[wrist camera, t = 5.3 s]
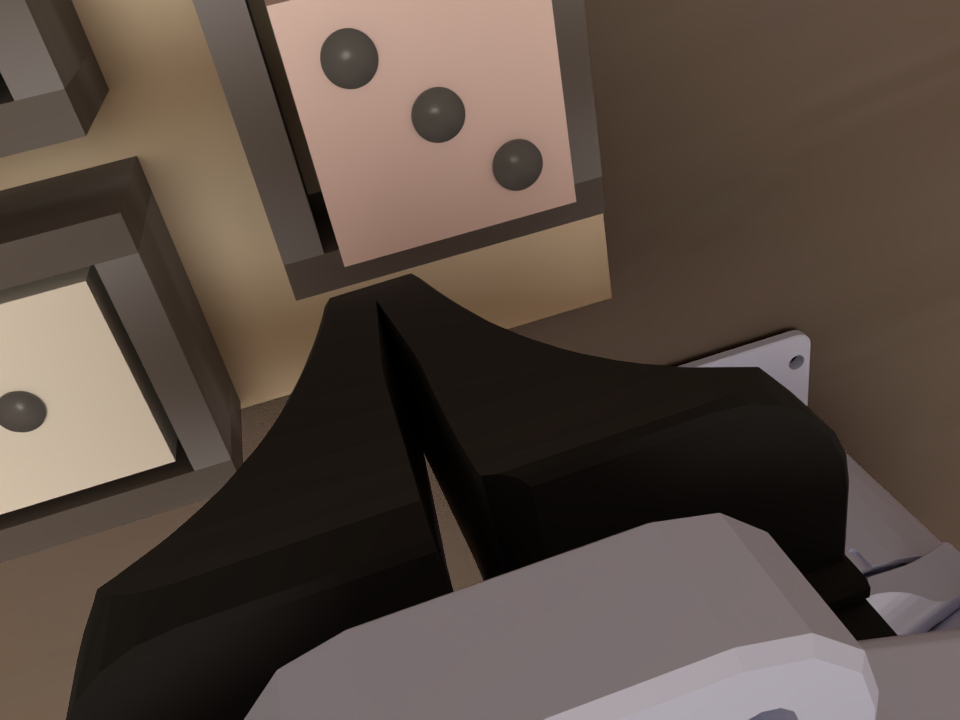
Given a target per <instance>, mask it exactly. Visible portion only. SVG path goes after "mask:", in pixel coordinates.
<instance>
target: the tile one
mask: <svg viewBox="0 0 960 720" xmlns="http://www.w3.org/2000/svg"><path fill="white" fill-rule="evenodd" d="M176 448H177V434H176V432H175V430H174V428H173V426H172V424H171V422H170V420H169V418H168V416H167V413H166V411H165V409H164V407H163V405H162V403H161V401H160V399H159V397H158V395H157V393H156V391H155V389H154V387H153V385H152V383H151V381H150V378H149V376H148V374H147V372H146V370H145V368H144V366H143V364H142V362H141V360H140V358H139V356H138V354H137V352H136V350H135V348H134V346H133V344H132V341H131V339H130V337H129V335H128V333H127V331H126V329H125V327H124V325H123V323H122V321H121V319H120V317H119V315H118V313H117V311H116V309H115V307H114V304H113V302H112V300H111V298H110V296H109V294H108V292H107V290H106V288H105V286H104V284H103V282H102V280H101V278H100V276H99V274H98V272H97V269H96V267H95V265H92V266H88V267H84V268H81V269H77V270H73V271H70V272H66V273H62V274H59V275H55V276H51V277H47V278H44V279H40V280H36V281H33V282H29V283H25V284H22V285H18V286H14V287H11V288H7V289H3V290H0V515H1V514H4V513H7V512H11V511H14V510H17V509H21V508H24V507H27V506H30V505H34V504H37V503H40V502H44V501H47V500H50V499H53V498H57V497H60V496H63V495H67V494H70V493H73V492H76V491H80V490H83V489H86V488H90V487H93V486H96V485H99V484H103V483H106V482H109V481H113V480H116V479H119V478H122V477H126V476H129V475H132V474H136V473H139V472H142V471H145V470H149V469H152V468H155V467H159V466H162V465H165V464H168V463H172V462H175V461H176Z"/></svg>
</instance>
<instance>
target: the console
mask: <svg viewBox="0 0 960 720" xmlns="http://www.w3.org/2000/svg"><path fill="white" fill-rule="evenodd" d="M552 7H553V16H554V24H555V32H556V40H557V48H558V56H559V65H560V73H561V81H562V89H563V97H564V105H565V113H566V122H567V130H568V138H569V146H570V154H571V162H572V171H573V179H574V187H575V195H576V202H574V203H570V204H567V205H563V206H560V207H556V208H553V209H549V210H545V211H542V212H538V213H535V214H531V215H528V216H524V217H521V218H517V219H514V220H510V221H506V222H503V223H499V224H496V225H492V226H489V227H485V228H482V229H478V230H475V231H471V232H467V233H464V234H460V235H457V236H453V237H450V238H446V239H443V240H439V241H435V242H432V243H428V244H425V245H421V246H418V247H414V248H411V249H407V250H404V251H400V252H396V253H393V254H389V255H386V256H382V257H379V258H375V259H372V260H368V261H365V262H361V263H357V264H354V265H350V266H347V267H344V263H343V260H342V257H341V254H340V250H339V247H338V244H337V241H336V238H335V234H334V231H333V228H332V225H331V221H330V218H329V215H328V212H327V208H326V205H325V202H324V199H323V195H322V192H321V189H320V185H319V182H318V179H317V175H316V172H315V169H314V165H313V162H312V159H311V155H310V152H309V149H308V145H307V142H306V139H305V135H304V132H303V129H302V125H301V122H300V119H299V116H298V112H297V109H296V106H295V102H294V99H293V96H292V92H291V89H290V86H289V82H288V79H287V76H286V72H285V69H284V66H283V62H282V59H281V56H280V52H279V49H278V46H277V42H276V39H275V36H274V33H273V29H272V26H271V23H270V19H269V16H268V13H267V9H266V6H265V3H264V0H0V72H1V74H0V290H3V289H7V288H11V287H14V286H18V285H22V284H25V283H29V282H33V281H36V280H40V279H44V278H47V277H51V276H55V275H59V274H62V273H66V272H70V271H73V270H77V269H81V268H84V267H88V266H92V265H95V267H96V269H97V272H98V274H99V276H100V278H101V280H102V282H103V284H104V286H105V288H106V290H107V292H108V294H109V296H110V298H111V300H112V302H113V304H114V307H115V309H116V311H117V313H118V315H119V317H120V319H121V321H122V323H123V325H124V327H125V329H126V331H127V333H128V335H129V337H130V339H131V341H132V344H133V346H134V348H135V350H136V352H137V354H138V356H139V358H140V360H141V362H142V364H143V366H144V368H145V370H146V372H147V374H148V376H149V378H150V381H151V383H152V385H153V387H154V389H155V391H156V393H157V395H158V397H159V399H160V401H161V403H162V405H163V407H164V409H165V411H166V413H167V416H168V418H169V420H170V422H171V424H172V426H173V428H174V430H175V432H176V434H177V448H176V461H175V462H172V463H168V464H165V465H162V466H159V467H155V468H152V469H149V470H145V471H142V472H139V473H136V474H132V475H129V476H126V477H122V478H119V479H116V480H113V481H109V482H106V483H103V484H99V485H96V486H93V487H90V488H86V489H83V490H80V491H76V492H73V493H70V494H67V495H63V496H60V497H57V498H53V499H50V500H47V501H44V502H40V503H37V504H34V505H30V506H27V507H24V508H21V509H17V510H14V511H11V512H7V513H4V514H1V515H0V563H2V562H5V561H8V560H11V559H14V558H18V557H21V556H24V555H27V554H31V553H34V552H37V551H40V550H43V549H47V548H50V547H53V546H56V545H59V544H63V543H66V542H69V541H72V540H75V539H79V538H82V537H85V536H88V535H91V534H95V533H98V532H101V531H104V530H108V529H111V528H114V527H117V526H120V525H124V524H127V523H130V522H133V521H136V520H140V519H143V518H146V517H149V516H152V515H156V514H159V513H162V512H165V511H169V510H172V509H175V508H178V507H181V506H185V505H188V504H191V503H194V502H197V501H201V500H204V499H207V498H210V497H213V496H214V495H215V494H216V493H217V492H218V491H219V490H220V489H221V488H222V487H223V486H224V485H225V484H226V483H227V481H228V480H229V479H230V478H231V477H232V476H233V475H234V473H235V472H236V471H237V470H238V469H239V468H240V467H241V465H242V464H243V456H242V429H241V409H242V408H246V407H249V406H252V405H256V404H259V403H262V402H266V401H269V400H273V399H276V398H279V397H283V396H286V395H289V394H291V393H292V391H293V389H294V387H295V385H296V383H297V381H298V379H299V377H300V375H301V373H302V371H303V369H304V366H305V364H306V361H307V359H308V356H309V354H310V352H311V349H312V347H313V344H314V341H315V338H316V335H317V333H318V330H319V326H320V323H321V320H322V316H323V312H324V307H325V305H326V304H327V302H328V300H329V298H332V297H335V296H338V295H341V294H345V293H348V292H351V291H354V290H358V289H361V288H364V287H368V286H371V285H374V284H377V283H381V282H384V281H387V280H390V279H394V278H397V277H400V276H403V275H407V274H410V273H412V274H413V275H415V276H417V277H419V278H421V279H422V280H423V281H425V282H426V283H427V284H429V285H430V286H432V287H433V288H434V289H436V290H437V291H439V292H440V293H442V294H443V295H445V296H446V297H448V298H449V299H451V300H452V301H454V302H456V303H457V304H459V305H461V306H462V307H464V308H466V309H468V310H469V311H471V312H473V313H475V314H476V315H478V316H480V317H482V318H483V319H485V320H487V321H489V322H491V323H494V324H496V325H498V326H500V327H502V328H505V329H510V328H513V327H516V326H520V325H523V324H526V323H530V322H533V321H536V320H540V319H543V318H546V317H550V316H553V315H556V314H560V313H563V312H566V311H570V310H573V309H576V308H580V307H583V306H586V305H590V304H593V303H597V302H600V301H603V300H607V299H610V298H612V294H611V285H610V275H609V266H608V256H607V247H606V237H605V227H604V218H603V213H606V207H605V198H604V188H603V178H602V168H601V159H600V149H599V139H598V129H597V119H596V110H595V100H594V90H593V80H592V71H591V61H590V51H589V41H588V31H587V22H586V12H585V2H584V0H552Z"/></svg>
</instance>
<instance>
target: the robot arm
mask: <svg viewBox="0 0 960 720" xmlns="http://www.w3.org/2000/svg"><path fill="white" fill-rule="evenodd" d="M810 346H811V343H810V339H809V338H808V337H807V336H806V335H805V334H804V333H803V332H801V331H798V330H792V331H789V332H785V333H782V334H779V335H776V336H773V337H769V338H766V339H763V340H760V341H757V342H753V343H750V344H747V345H744V346H741V347H738V348H734V349H731V350H728V351H725V352H722V353H718V354H715V355H712V356H709V357H706V358H703V359H699V360H696V361H693V362H690V363H687V364H683V365H680V366H677V367H674V366H662V365H650V364H639V363H632V362H624V361H617V360H611V359H606V358H601V357H596V356H591V355H586V354H580V353H576V352H572V351H568V350H564V349H561V348H557V347H554V346H551V345H548V344H545V343H542V342H539V341H535V340H532V339H529V338H527V337H524V336H521V335H519V334H516V333H514V332H511V331H509V330H507V329H505V328H502V327H500V326H498V325H496V324H494V323H491V322H489V321H487V320H485V319H483V318H482V317H480V316H478V315H476V314H475V313H473V312H471V311H469V310H468V309H466V308H464V307H462V306H461V305H459V304H457V303H456V302H454V301H452V300H451V299H449V298H448V297H446V296H445V295H443V294H442V293H440V292H439V291H437V290H436V289H434V288H433V287H432V286H430V285H429V284H427V283H426V282H425V281H423V280H422V279H421V278H419V277H417V276H415V275H413V274H412V273H410V274H407V275H403V276H400V277H397V278H394V279H390V280H387V281H384V282H381V283H377V284H374V285H371V286H368V287H364V288H361V289H358V290H354V291H351V292H348V293H345V294H341V295H338V296H335V297H332V298H329V300H328V302H327V304H326V305H325V307H324V312H323V316H322V320H321V323H320V326H319V330H318V333H317V335H316V338H315V341H314V344H313V347H312V349H311V352H310V354H309V356H308V359H307V361H306V364H305V366H304V369H303V371H302V373H301V375H300V377H299V379H298V381H297V383H296V385H295V387H294V389H293V391H292V393H291V395H290V397H289V399H288V401H287V403H286V405H285V407H284V408H283V410H282V412H281V414H280V415H279V417H278V419H277V420H276V422H275V423H274V425H273V426H272V428H271V429H270V430H269V432H268V433H267V435H266V436H265V438H264V439H263V440H262V442H261V443H260V444H259V446H258V447H257V448H256V449H255V451H254V452H253V453H252V454H251V455H250V456H249V457H248V459H247V460H246V461H245V462H244V463H243V464H242V465H241V467H240V468H239V469H238V470H237V471H236V472H235V473H234V475H233V476H232V477H231V478H230V479H229V480H228V481H227V483H226V484H225V485H224V486H223V487H222V488H221V489H220V490H219V491H218V492H217V493H216V494H215V495H214V496H213V497H212V498H211V499H210V500H209V501H208V502H207V503H206V504H205V505H204V506H203V507H202V508H201V509H200V510H199V511H197V512H196V513H195V514H194V515H193V516H192V517H191V518H190V519H188V520H187V521H186V522H185V523H184V524H183V525H182V526H180V527H179V528H178V529H177V530H176V531H175V532H174V533H172V534H171V535H170V536H169V537H167V538H166V539H165V540H164V541H163V542H161V543H160V544H159V545H157V546H156V547H155V548H153V549H152V550H151V551H149V552H148V553H147V554H145V555H144V556H143V557H141V558H140V559H139V560H137V561H136V562H135V563H133V564H132V565H131V566H129V567H128V568H127V569H125V570H124V571H123V572H121V573H120V574H118V575H117V576H116V577H114V578H113V579H112V580H110V581H109V582H107V583H106V584H104V585H103V586H101V587H100V588H99V589H97V592H96V595H95V599H94V603H93V606H92V609H91V612H90V615H89V618H88V621H87V624H86V627H85V630H84V634H83V638H82V642H81V646H80V651H79V655H78V659H77V664H76V669H75V675H74V680H73V685H72V691H71V696H70V701H69V707H68V712H67V718H66V720H960V552H959V551H958V550H957V549H956V548H955V547H953V546H952V545H951V544H950V543H949V542H943V543H942V542H941V541H940V540H939V539H937V538H936V537H935V536H934V535H933V534H932V533H931V532H930V531H929V530H928V529H927V528H926V527H925V526H924V525H922V524H921V523H920V522H919V521H918V520H917V519H916V518H915V517H914V516H913V515H912V514H911V513H910V512H909V511H908V510H906V509H905V508H904V507H903V506H902V505H901V504H900V503H899V502H898V501H897V500H896V499H895V498H894V497H893V496H892V495H890V494H889V493H888V492H887V491H886V490H885V489H884V488H883V487H882V486H881V485H880V484H879V483H878V482H877V481H875V480H874V479H873V478H872V477H871V476H870V475H869V474H868V473H867V472H866V471H865V470H864V469H863V468H862V467H861V466H859V465H858V464H857V463H856V462H855V461H854V460H853V459H852V458H851V457H850V456H849V455H848V454H847V453H846V452H845V451H844V449H843V447H842V445H841V444H840V442H839V440H838V438H837V436H836V434H835V432H834V431H833V430H832V429H831V428H830V427H829V426H827V425H826V424H825V423H824V422H823V421H822V420H821V419H820V418H819V417H818V416H817V415H816V414H814V413H813V412H812V411H811V410H810V409H809V408H808V387H809V367H810ZM795 356H796V358H795V359H794V360H793V361H792V362H790V361H791V359H792V358H793V357H795ZM423 452H424V453H423ZM424 454H425V456H426V458H427V460H428V462H429V464H430V467H431V469H432V471H433V473H434V475H435V477H436V479H437V481H438V483H439V486H440V488H441V490H442V492H443V494H444V496H445V498H446V500H447V502H448V504H449V506H450V509H451V511H452V513H453V515H454V517H455V519H456V521H457V523H458V525H459V527H460V529H461V531H462V534H463V536H464V538H465V540H466V542H467V544H468V546H469V548H470V550H471V552H472V554H473V557H474V559H475V561H476V563H477V566H478V568H479V571H480V573H481V575H482V578H483V580H484V581H482V582H480V583H477V584H474V585H471V586H468V587H465V588H463V589H460V590H457V591H454V592H453V588H452V584H451V580H450V576H449V572H448V569H447V564H446V559H445V554H444V549H443V544H442V539H441V535H440V530H439V525H438V520H437V515H436V510H435V505H434V501H433V496H432V491H431V486H430V481H429V476H428V472H427V467H426V462H425V457H424Z"/></svg>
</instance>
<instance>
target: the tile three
mask: <svg viewBox="0 0 960 720" xmlns="http://www.w3.org/2000/svg"><path fill="white" fill-rule="evenodd" d="M264 3H265V6H266V9H267V13H268V16H269V19H270V23H271V26H272V29H273V33H274V36H275V39H276V42H277V46H278V49H279V52H280V56H281V59H282V62H283V66H284V69H285V72H286V76H287V79H288V82H289V86H290V89H291V92H292V96H293V99H294V102H295V106H296V109H297V112H298V116H299V119H300V122H301V125H302V129H303V132H304V135H305V139H306V142H307V145H308V149H309V152H310V155H311V159H312V162H313V165H314V169H315V172H316V175H317V179H318V182H319V185H320V189H321V192H322V195H323V199H324V202H325V205H326V208H327V212H328V215H329V218H330V221H331V225H332V228H333V231H334V234H335V238H336V241H337V244H338V247H339V250H340V254H341V257H342V260H343V263H344V267H347V266H350V265H354V264H357V263H361V262H365V261H368V260H372V259H375V258H379V257H382V256H386V255H389V254H393V253H396V252H400V251H404V250H407V249H411V248H414V247H418V246H421V245H425V244H428V243H432V242H435V241H439V240H443V239H446V238H450V237H453V236H457V235H460V234H464V233H467V232H471V231H475V230H478V229H482V228H485V227H489V226H492V225H496V224H499V223H503V222H506V221H510V220H514V219H517V218H521V217H524V216H528V215H531V214H535V213H538V212H542V211H545V210H549V209H553V208H556V207H560V206H563V205H567V204H570V203H574V202H576V195H575V187H574V179H573V171H572V162H571V154H570V146H569V138H568V130H567V122H566V113H565V105H564V97H563V89H562V81H561V73H560V65H559V56H558V48H557V40H556V32H555V24H554V16H553V7H552V0H264Z"/></svg>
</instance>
